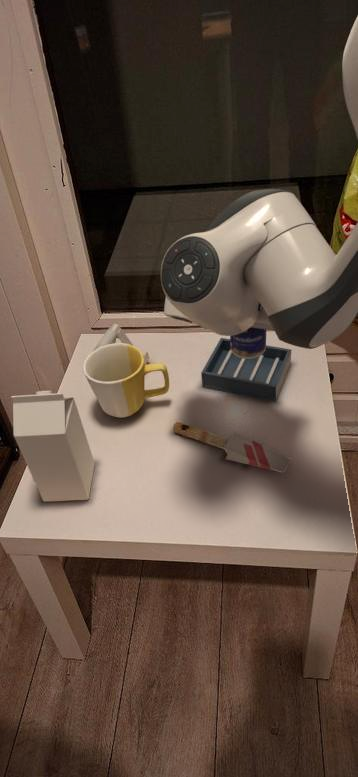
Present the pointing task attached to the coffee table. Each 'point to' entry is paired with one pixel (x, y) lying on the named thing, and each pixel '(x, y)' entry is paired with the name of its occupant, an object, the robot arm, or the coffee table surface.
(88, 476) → the milk carton
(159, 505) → the coffee table surface
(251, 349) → the pill bottle
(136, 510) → the coffee table surface
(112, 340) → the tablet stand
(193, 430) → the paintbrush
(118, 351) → the mug
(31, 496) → the coffee table surface
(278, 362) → the drying rack
